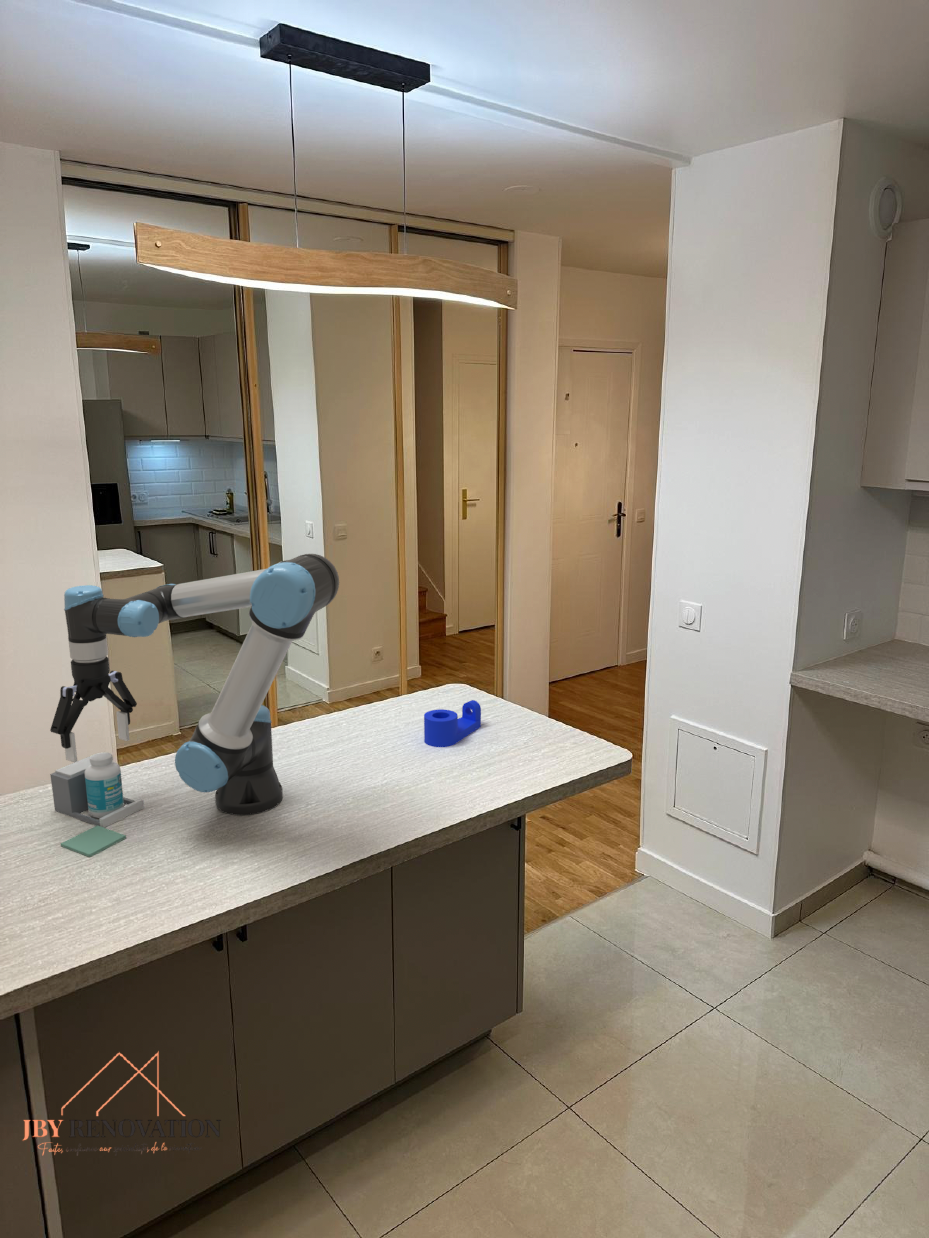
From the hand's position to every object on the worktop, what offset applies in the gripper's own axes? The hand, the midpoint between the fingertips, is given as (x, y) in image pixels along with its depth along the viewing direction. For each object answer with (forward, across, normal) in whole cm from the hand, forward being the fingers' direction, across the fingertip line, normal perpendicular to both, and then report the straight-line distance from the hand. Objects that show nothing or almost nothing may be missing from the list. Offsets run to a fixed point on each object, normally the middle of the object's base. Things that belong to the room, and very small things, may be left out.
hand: (98, 749), depth 189 cm
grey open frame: (+15, 0, -2) cm, 15 cm away
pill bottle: (+15, 0, 0) cm, 15 cm away
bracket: (+15, -78, +46) cm, 92 cm away
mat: (+15, +10, +10) cm, 21 cm away
